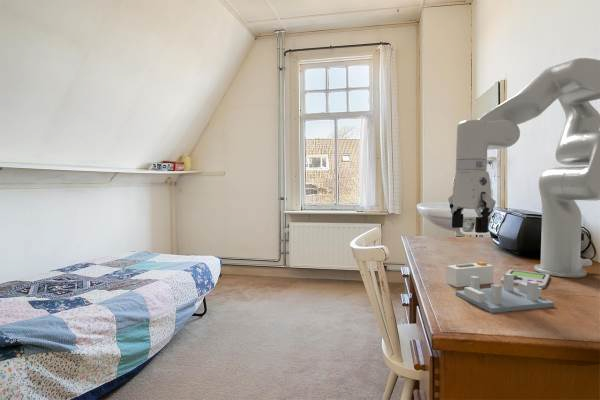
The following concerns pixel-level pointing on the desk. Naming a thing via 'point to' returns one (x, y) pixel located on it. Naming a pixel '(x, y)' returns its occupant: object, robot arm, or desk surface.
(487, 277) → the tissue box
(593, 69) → the robot arm
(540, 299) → the bracket board
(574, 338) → the desk surface
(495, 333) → the desk surface
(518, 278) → the handheld gaming console
